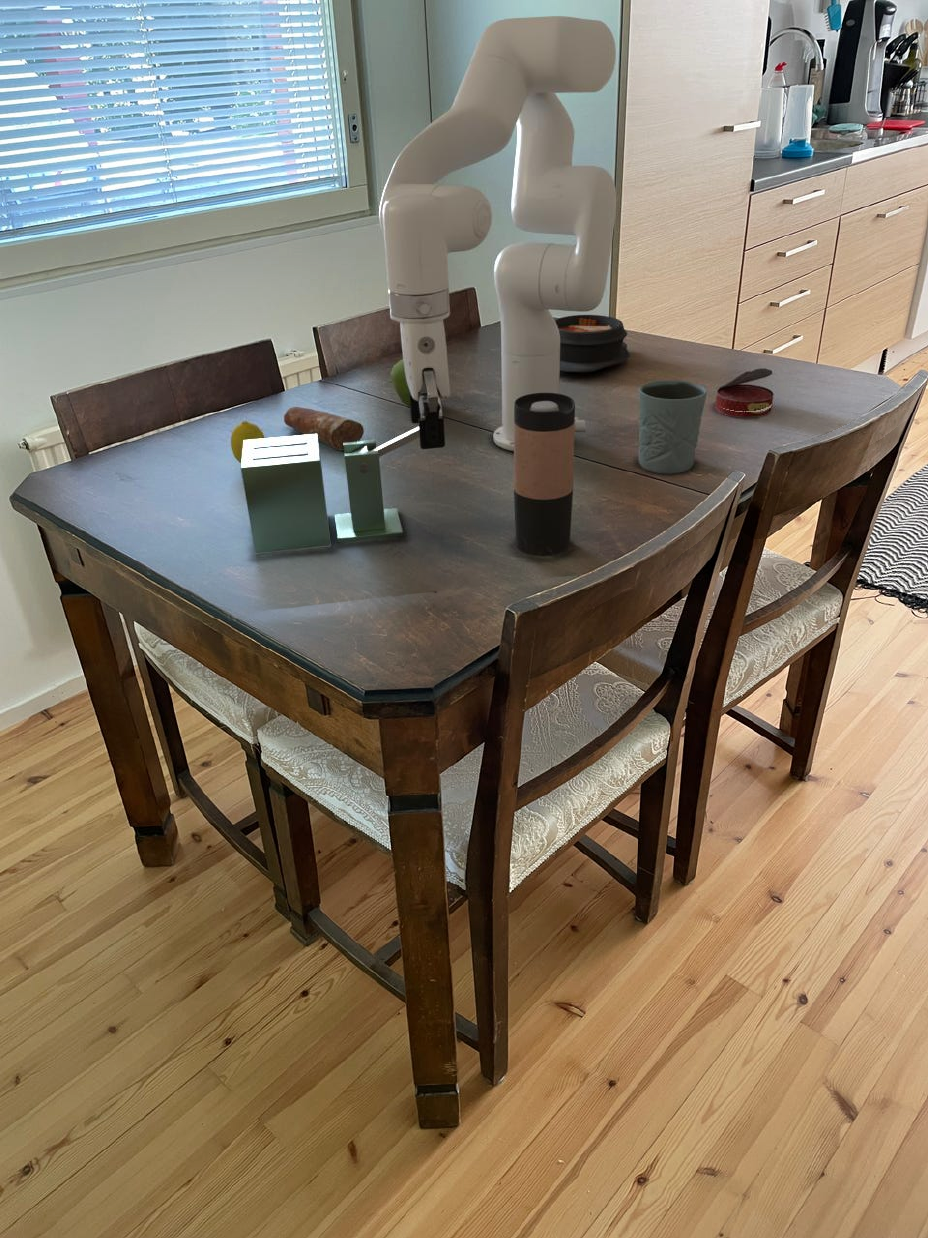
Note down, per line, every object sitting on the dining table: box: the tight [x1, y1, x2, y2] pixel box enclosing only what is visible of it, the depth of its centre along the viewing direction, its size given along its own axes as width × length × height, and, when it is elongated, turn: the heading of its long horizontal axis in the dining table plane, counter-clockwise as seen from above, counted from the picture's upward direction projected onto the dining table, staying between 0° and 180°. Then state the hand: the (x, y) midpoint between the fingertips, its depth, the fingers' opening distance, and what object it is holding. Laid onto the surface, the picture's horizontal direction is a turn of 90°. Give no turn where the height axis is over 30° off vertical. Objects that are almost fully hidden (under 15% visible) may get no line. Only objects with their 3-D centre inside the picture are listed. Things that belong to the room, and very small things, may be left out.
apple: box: [390, 358, 443, 408], centre depth 172 cm, size 11×10×10 cm
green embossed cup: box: [638, 379, 708, 475], centre depth 144 cm, size 10×10×12 cm
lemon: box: [230, 420, 265, 464], centre depth 149 cm, size 6×6×8 cm
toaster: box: [240, 434, 332, 556], centre depth 125 cm, size 10×10×13 cm
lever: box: [352, 426, 420, 458], centre depth 124 cm, size 12×6×2 cm, turn 99°
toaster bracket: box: [333, 439, 404, 544], centre depth 127 cm, size 9×8×12 cm
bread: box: [283, 406, 365, 451], centre depth 161 cm, size 6×19×6 cm, turn 39°
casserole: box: [554, 314, 631, 374], centre depth 193 cm, size 25×19×8 cm
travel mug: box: [513, 393, 576, 557], centre depth 118 cm, size 8×8×20 cm
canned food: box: [714, 367, 774, 419], centre depth 166 cm, size 11×10×10 cm
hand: (427, 434), depth 124 cm, fingers open, 9 cm apart
